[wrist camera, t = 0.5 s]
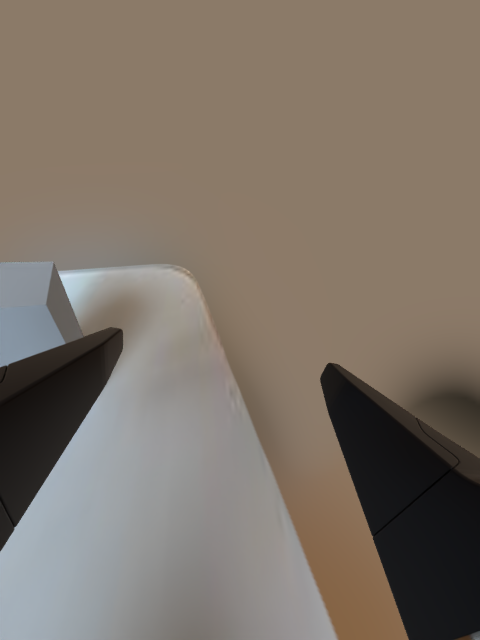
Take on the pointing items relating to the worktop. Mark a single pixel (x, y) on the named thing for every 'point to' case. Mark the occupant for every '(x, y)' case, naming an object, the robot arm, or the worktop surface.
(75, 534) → the worktop surface
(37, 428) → the robot arm
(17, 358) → the tall blue-gray box
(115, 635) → the worktop surface
